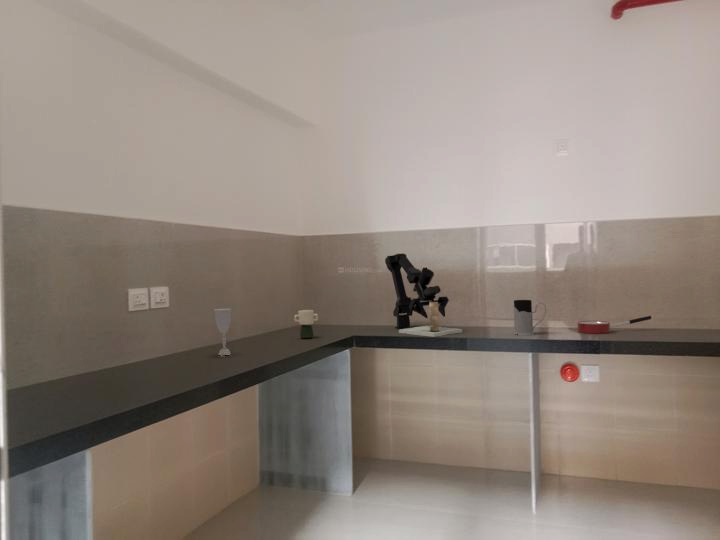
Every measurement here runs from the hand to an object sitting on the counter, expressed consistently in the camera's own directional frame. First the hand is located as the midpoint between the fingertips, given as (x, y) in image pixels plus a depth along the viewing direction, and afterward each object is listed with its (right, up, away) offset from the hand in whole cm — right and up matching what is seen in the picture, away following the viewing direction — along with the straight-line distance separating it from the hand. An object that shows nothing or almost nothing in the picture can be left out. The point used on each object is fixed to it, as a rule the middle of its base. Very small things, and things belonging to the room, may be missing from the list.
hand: (435, 317), depth 243 cm
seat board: (-1, -8, +9) cm, 13 cm away
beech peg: (0, -8, +1) cm, 8 cm away
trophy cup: (-60, -11, +5) cm, 61 cm away
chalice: (-88, -12, -35) cm, 95 cm away
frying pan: (+78, -6, -8) cm, 78 cm away
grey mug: (+41, -7, -8) cm, 42 cm away
